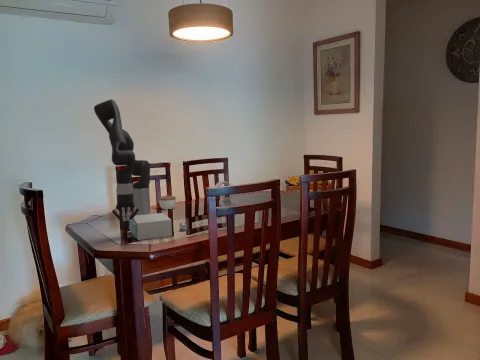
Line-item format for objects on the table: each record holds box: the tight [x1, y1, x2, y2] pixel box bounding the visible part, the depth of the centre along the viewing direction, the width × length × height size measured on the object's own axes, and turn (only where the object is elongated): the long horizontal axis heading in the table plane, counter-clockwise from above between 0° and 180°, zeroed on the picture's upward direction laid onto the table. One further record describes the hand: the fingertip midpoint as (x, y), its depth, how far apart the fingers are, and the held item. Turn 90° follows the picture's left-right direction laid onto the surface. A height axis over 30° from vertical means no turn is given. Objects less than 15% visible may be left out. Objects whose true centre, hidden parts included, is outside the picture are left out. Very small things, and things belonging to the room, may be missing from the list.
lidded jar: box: [158, 194, 177, 211], centre depth 259 cm, size 11×11×9 cm
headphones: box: [214, 180, 236, 207], centre depth 240 cm, size 19×9×20 cm, turn 145°
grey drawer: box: [128, 219, 137, 239], centre depth 196 cm, size 18×16×6 cm
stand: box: [178, 222, 188, 232], centre depth 204 cm, size 4×4×4 cm
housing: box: [132, 212, 173, 241], centre depth 197 cm, size 18×16×8 cm
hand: (126, 228), depth 193 cm, fingers closed
